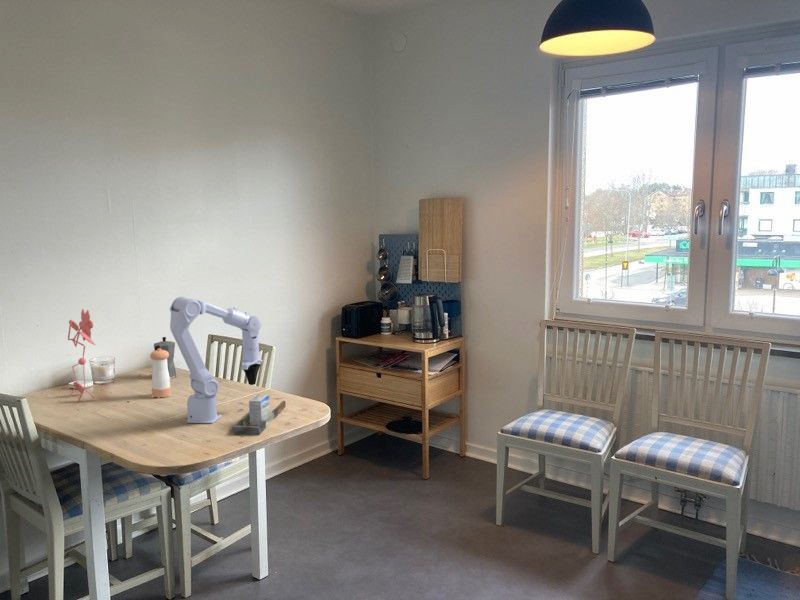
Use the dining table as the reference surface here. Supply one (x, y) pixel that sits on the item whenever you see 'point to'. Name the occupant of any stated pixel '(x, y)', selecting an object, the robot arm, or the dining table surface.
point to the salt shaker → (160, 374)
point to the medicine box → (259, 409)
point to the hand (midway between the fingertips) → (252, 384)
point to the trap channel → (253, 430)
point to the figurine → (86, 333)
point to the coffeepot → (169, 347)
